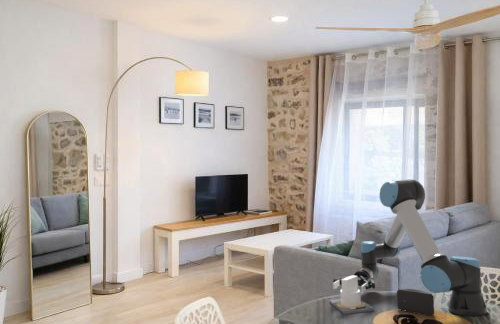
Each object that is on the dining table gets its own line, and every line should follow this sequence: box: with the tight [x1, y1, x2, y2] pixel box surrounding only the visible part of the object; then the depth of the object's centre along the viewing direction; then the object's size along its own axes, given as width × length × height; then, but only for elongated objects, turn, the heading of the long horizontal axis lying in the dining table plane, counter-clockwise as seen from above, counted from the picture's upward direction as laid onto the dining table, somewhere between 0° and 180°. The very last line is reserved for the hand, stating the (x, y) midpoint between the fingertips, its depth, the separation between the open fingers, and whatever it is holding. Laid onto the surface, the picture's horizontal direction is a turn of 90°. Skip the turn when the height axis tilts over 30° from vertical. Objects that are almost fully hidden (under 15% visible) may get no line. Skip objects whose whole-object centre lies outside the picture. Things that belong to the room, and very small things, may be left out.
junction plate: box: [329, 298, 375, 315], centre depth 222 cm, size 18×14×2 cm
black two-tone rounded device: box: [396, 288, 435, 316], centre depth 210 cm, size 16×5×9 cm, turn 47°
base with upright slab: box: [339, 274, 362, 307], centre depth 222 cm, size 9×9×12 cm
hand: (347, 287), depth 220 cm, fingers open, 13 cm apart
